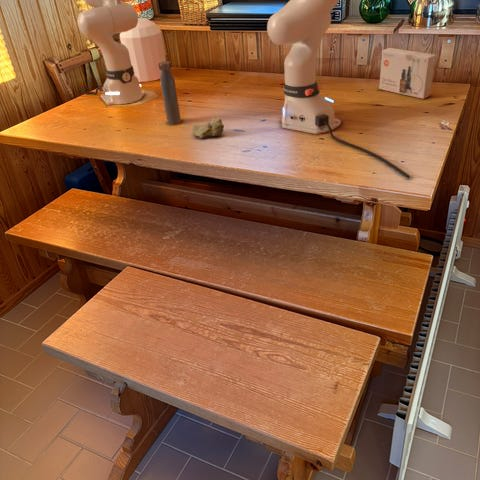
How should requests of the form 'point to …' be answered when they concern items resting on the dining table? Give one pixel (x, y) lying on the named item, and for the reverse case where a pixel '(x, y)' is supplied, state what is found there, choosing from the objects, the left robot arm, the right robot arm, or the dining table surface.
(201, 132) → the rock
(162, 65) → the cap
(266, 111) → the dining table surface
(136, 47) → the container
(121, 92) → the left robot arm
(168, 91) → the bottle
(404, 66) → the skincare box
